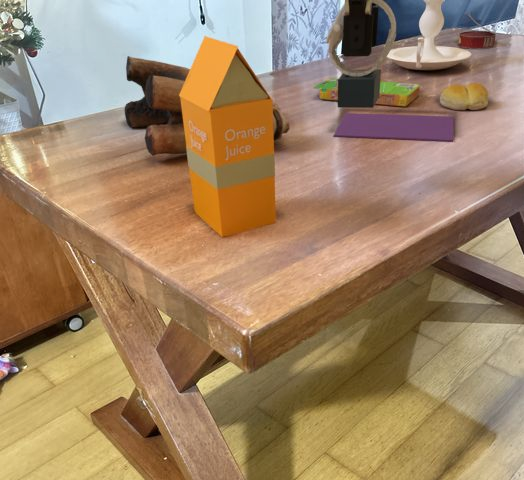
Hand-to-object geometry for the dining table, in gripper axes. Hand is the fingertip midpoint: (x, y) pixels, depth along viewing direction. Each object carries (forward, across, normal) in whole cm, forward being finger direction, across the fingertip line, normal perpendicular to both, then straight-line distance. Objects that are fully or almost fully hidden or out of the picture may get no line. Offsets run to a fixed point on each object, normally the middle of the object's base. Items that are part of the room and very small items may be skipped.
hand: (360, 49), depth 64 cm
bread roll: (+18, +47, -15) cm, 53 cm away
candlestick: (+19, +80, -6) cm, 83 cm away
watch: (+6, 0, 0) cm, 6 cm away
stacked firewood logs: (+17, +22, +30) cm, 41 cm away
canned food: (+19, +113, -19) cm, 116 cm away
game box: (+18, +51, +5) cm, 55 cm away
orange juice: (+17, -11, +14) cm, 25 cm away
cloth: (+18, +31, -3) cm, 36 cm away
